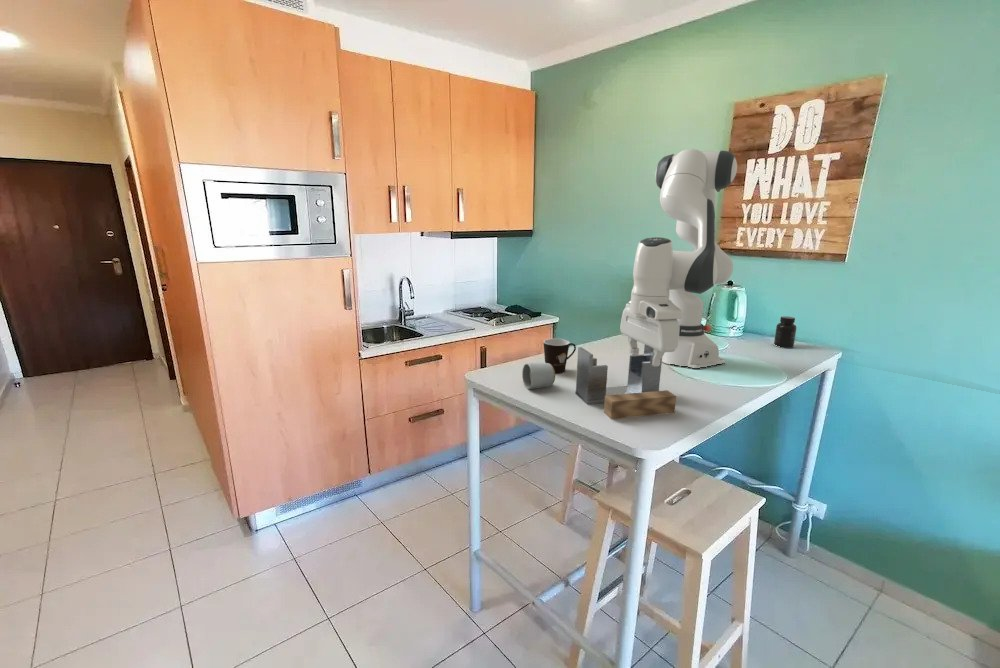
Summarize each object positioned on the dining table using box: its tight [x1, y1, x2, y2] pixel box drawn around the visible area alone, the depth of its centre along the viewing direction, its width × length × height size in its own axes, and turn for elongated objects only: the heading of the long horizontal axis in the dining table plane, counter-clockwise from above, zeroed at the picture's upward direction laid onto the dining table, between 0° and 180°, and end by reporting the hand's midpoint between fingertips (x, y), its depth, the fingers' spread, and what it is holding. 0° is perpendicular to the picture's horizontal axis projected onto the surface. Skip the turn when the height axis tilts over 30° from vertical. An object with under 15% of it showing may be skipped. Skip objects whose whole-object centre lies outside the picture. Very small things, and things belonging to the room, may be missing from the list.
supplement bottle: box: [773, 316, 797, 348], centre depth 174 cm, size 7×7×12 cm
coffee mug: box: [542, 338, 577, 375], centre depth 143 cm, size 12×9×10 cm
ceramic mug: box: [521, 362, 556, 390], centre depth 131 cm, size 11×8×8 cm
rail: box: [603, 389, 677, 420], centre depth 112 cm, size 18×4×5 cm, turn 102°
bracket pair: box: [574, 344, 663, 405], centre depth 122 cm, size 22×8×14 cm, turn 104°
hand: (644, 359), depth 109 cm, fingers open, 8 cm apart
